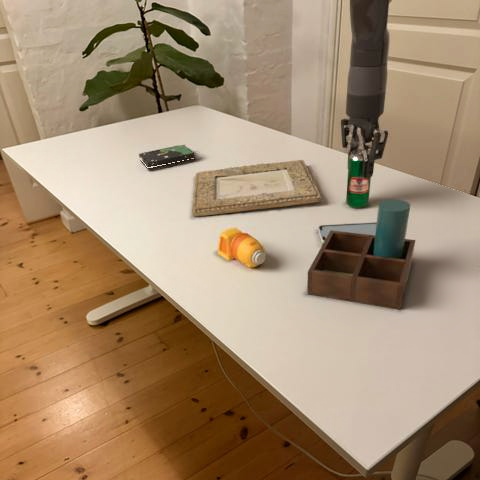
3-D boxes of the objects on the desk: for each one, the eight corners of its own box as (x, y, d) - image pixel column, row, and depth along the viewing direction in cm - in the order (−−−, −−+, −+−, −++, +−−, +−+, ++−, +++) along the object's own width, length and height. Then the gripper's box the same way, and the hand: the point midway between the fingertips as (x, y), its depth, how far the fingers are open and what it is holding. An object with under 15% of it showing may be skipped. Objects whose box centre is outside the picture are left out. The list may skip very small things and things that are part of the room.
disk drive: (149, 172, 135) (196, 161, 139) (146, 163, 133) (194, 151, 137) (140, 162, 143) (185, 152, 147) (138, 153, 141) (183, 143, 145)
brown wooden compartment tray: (411, 262, 85) (415, 239, 82) (400, 309, 74) (403, 285, 72) (329, 251, 91) (330, 230, 88) (307, 294, 80) (307, 271, 77)
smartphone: (399, 238, 91) (322, 242, 91) (398, 242, 92) (322, 246, 92) (389, 221, 97) (317, 225, 97) (388, 225, 97) (317, 229, 98)
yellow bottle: (273, 266, 88) (237, 243, 96) (272, 241, 85) (235, 219, 93) (250, 277, 86) (215, 252, 94) (248, 251, 82) (212, 228, 90)
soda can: (345, 209, 105) (349, 156, 98) (345, 200, 109) (349, 148, 102) (368, 209, 104) (374, 155, 97) (367, 200, 108) (373, 147, 101)
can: (402, 262, 84) (412, 200, 77) (398, 276, 81) (408, 212, 73) (374, 258, 86) (381, 197, 79) (369, 272, 83) (376, 209, 75)
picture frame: (196, 177, 129) (194, 168, 127) (303, 165, 128) (303, 155, 127) (193, 219, 108) (191, 209, 106) (322, 204, 107) (322, 193, 106)
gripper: (405, 92, 87) (394, 180, 98) (361, 80, 98) (355, 160, 108) (371, 99, 85) (363, 187, 96) (331, 86, 96) (327, 167, 106)
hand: (359, 173), depth 102 cm, fingers closed on soda can, 5 cm apart
